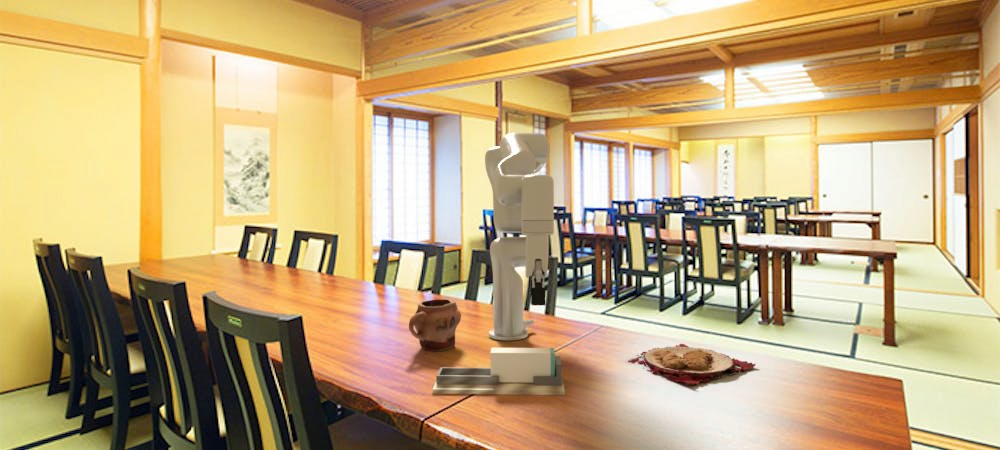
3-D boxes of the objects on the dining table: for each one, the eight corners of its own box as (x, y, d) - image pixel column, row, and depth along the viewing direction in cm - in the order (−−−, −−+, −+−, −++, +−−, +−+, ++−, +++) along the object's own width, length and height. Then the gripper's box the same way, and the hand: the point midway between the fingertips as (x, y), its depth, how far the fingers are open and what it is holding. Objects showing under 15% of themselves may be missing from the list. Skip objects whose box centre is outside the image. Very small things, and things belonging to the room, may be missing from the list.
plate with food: (756, 371, 130) (757, 358, 130) (689, 389, 117) (689, 374, 117) (681, 349, 151) (681, 337, 151) (617, 361, 138) (617, 349, 138)
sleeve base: (432, 393, 116) (432, 380, 115) (441, 374, 128) (441, 363, 127) (564, 395, 114) (564, 382, 114) (561, 376, 126) (561, 364, 126)
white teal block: (490, 382, 119) (490, 352, 118) (491, 376, 123) (491, 347, 122) (554, 382, 118) (554, 353, 118) (553, 376, 122) (553, 348, 122)
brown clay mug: (430, 361, 138) (429, 311, 137) (396, 355, 144) (395, 306, 143) (470, 342, 155) (470, 297, 154) (438, 337, 161) (438, 294, 160)
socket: (533, 385, 117) (533, 364, 117) (533, 376, 123) (532, 355, 123) (561, 385, 117) (561, 364, 117) (559, 376, 123) (559, 356, 123)
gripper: (521, 225, 127) (522, 293, 128) (521, 230, 110) (521, 308, 111) (551, 225, 127) (551, 293, 128) (555, 230, 109) (556, 309, 110)
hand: (537, 300), depth 119 cm, fingers open, 9 cm apart
